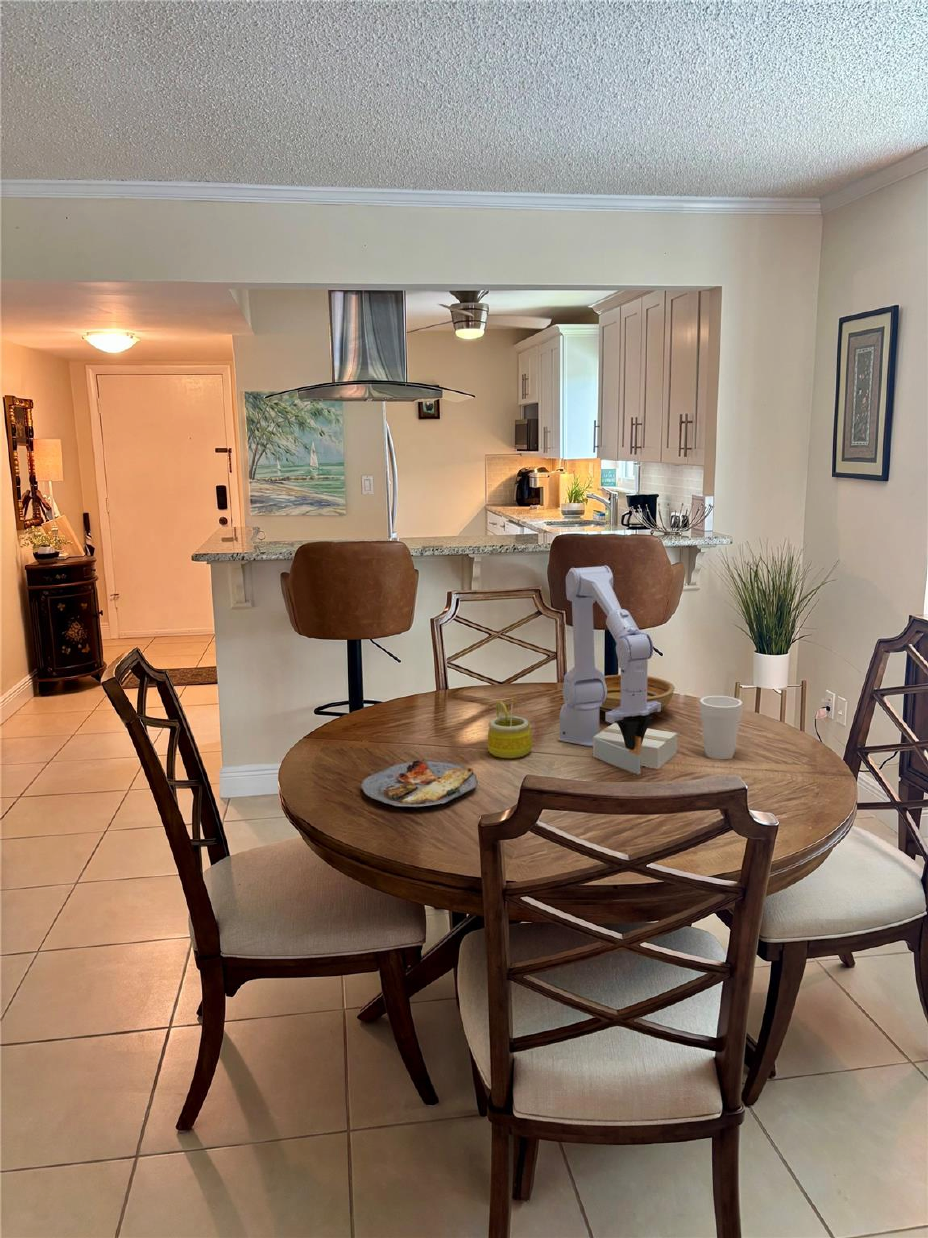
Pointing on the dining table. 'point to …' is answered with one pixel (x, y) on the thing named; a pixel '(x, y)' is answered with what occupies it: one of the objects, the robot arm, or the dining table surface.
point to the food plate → (420, 783)
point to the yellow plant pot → (509, 735)
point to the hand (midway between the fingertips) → (633, 747)
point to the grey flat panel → (620, 755)
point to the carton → (643, 745)
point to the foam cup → (720, 725)
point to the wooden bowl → (655, 692)
